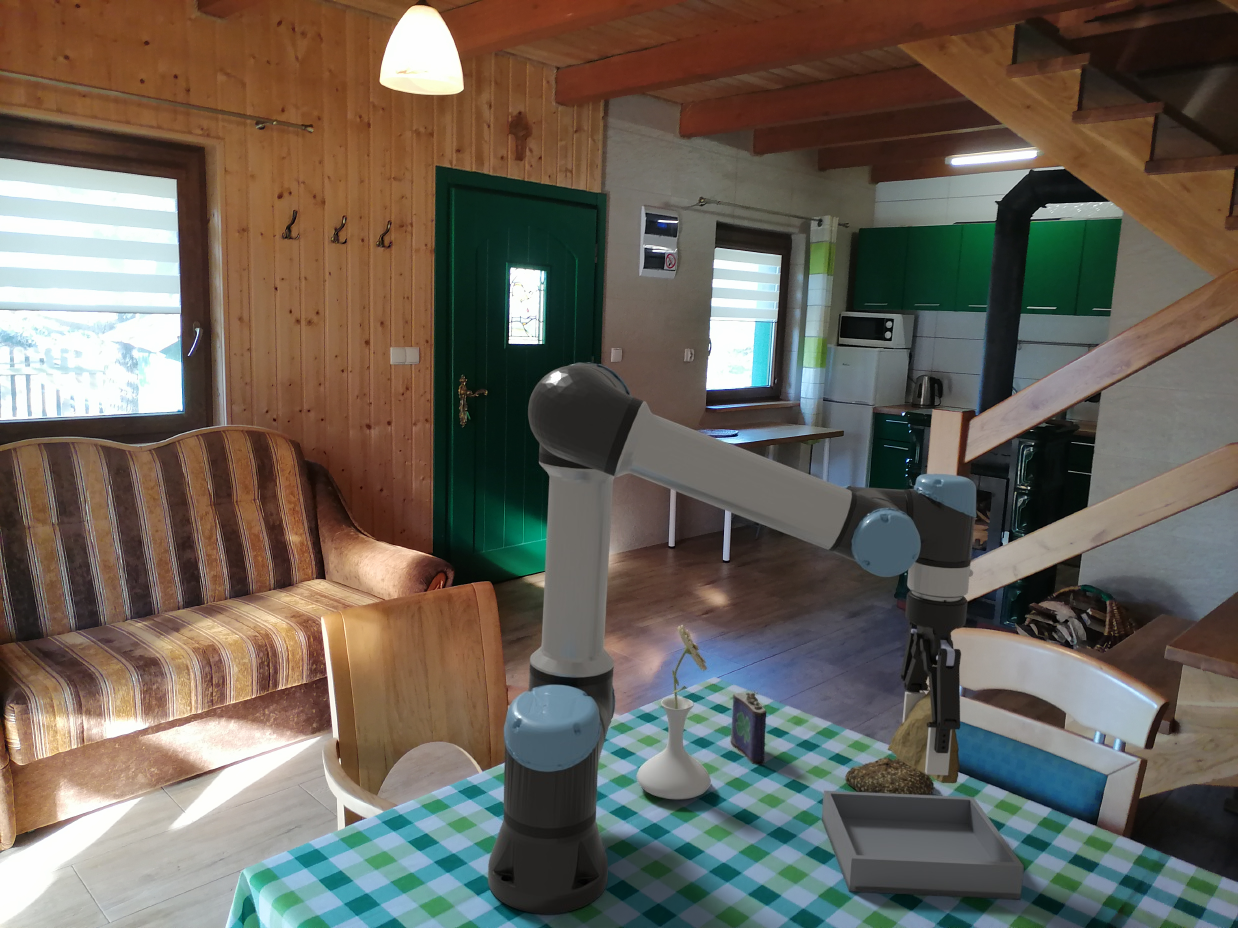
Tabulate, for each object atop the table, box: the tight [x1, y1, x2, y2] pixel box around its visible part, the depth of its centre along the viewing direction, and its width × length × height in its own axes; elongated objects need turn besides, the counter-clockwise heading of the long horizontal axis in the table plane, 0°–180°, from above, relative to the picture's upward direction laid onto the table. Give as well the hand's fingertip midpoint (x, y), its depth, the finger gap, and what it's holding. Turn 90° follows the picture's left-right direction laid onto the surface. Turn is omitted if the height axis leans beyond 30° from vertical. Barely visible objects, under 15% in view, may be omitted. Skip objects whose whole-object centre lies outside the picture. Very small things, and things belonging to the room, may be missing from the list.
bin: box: [821, 790, 1025, 900], centre depth 126 cm, size 22×18×4 cm
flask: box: [730, 690, 767, 765], centre depth 156 cm, size 9×3×11 cm, turn 21°
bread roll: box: [844, 757, 935, 795], centre depth 146 cm, size 13×12×5 cm
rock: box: [887, 689, 961, 784], centre depth 124 cm, size 11×9×10 cm
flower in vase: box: [636, 624, 712, 800], centre depth 142 cm, size 13×11×25 cm
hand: (923, 754), depth 124 cm, fingers closed on rock, 10 cm apart
